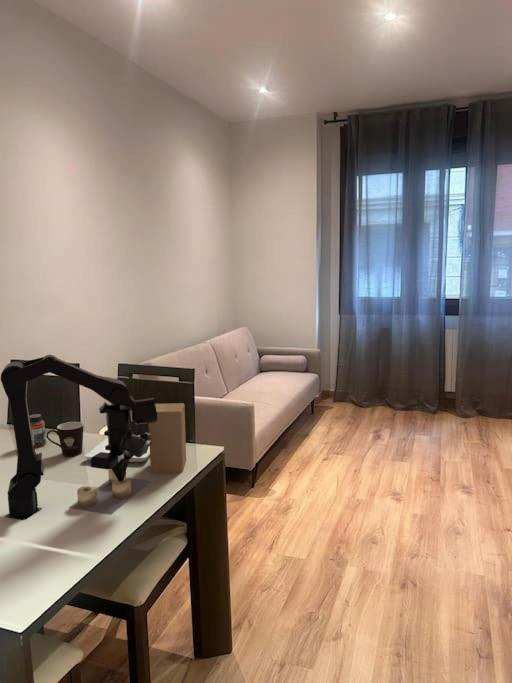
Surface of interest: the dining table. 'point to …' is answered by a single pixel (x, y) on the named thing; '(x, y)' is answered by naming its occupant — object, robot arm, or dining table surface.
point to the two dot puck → (112, 476)
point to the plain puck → (121, 488)
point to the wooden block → (168, 439)
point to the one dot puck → (87, 496)
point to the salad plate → (101, 448)
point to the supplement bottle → (37, 430)
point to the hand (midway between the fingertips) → (121, 480)
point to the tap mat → (106, 497)
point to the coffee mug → (69, 438)
